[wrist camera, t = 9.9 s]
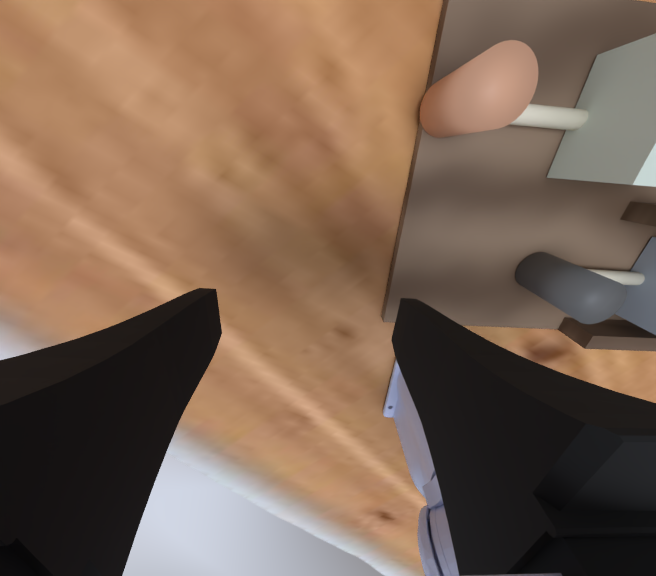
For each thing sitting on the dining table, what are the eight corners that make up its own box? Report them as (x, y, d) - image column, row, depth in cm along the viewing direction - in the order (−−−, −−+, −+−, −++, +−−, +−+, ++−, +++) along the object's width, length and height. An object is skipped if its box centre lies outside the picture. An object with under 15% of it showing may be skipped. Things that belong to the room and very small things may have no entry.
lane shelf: (684, 329, 24) (737, 354, 21) (381, 316, 22) (391, 341, 19) (918, 48, 15) (1067, 21, 12) (446, -15, 13) (484, -65, 10)
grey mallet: (672, 312, 22) (766, 352, 17) (501, 304, 21) (553, 344, 16) (727, 242, 19) (855, 268, 14) (534, 228, 18) (606, 252, 13)
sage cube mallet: (633, 184, 17) (748, 194, 12) (408, 166, 16) (445, 169, 11) (699, 67, 14) (875, 24, 10) (434, 35, 13) (494, -28, 9)
